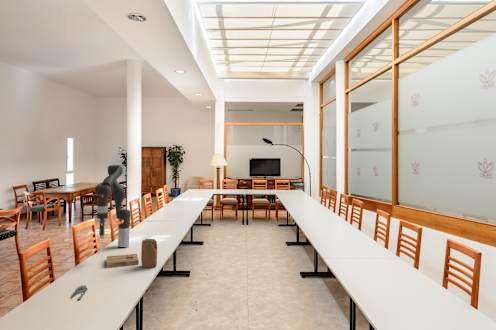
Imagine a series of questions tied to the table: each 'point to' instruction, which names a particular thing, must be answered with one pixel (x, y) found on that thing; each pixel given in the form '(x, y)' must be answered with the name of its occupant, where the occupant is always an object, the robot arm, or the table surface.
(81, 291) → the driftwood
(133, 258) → the board
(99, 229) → the peg
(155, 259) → the block
